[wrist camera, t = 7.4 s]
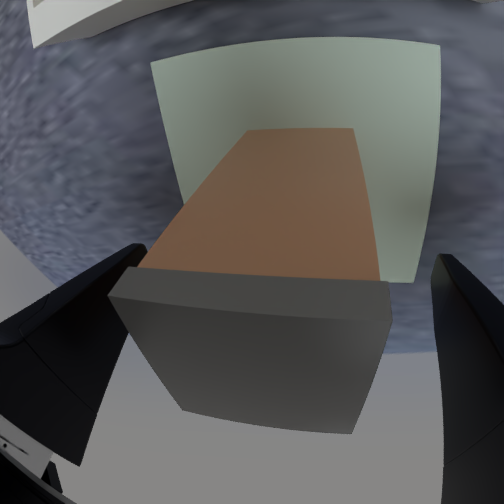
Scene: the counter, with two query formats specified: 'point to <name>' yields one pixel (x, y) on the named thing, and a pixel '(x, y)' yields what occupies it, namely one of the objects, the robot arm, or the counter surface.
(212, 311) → the tan rectangular block
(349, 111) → the mat
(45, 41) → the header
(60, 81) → the counter surface
